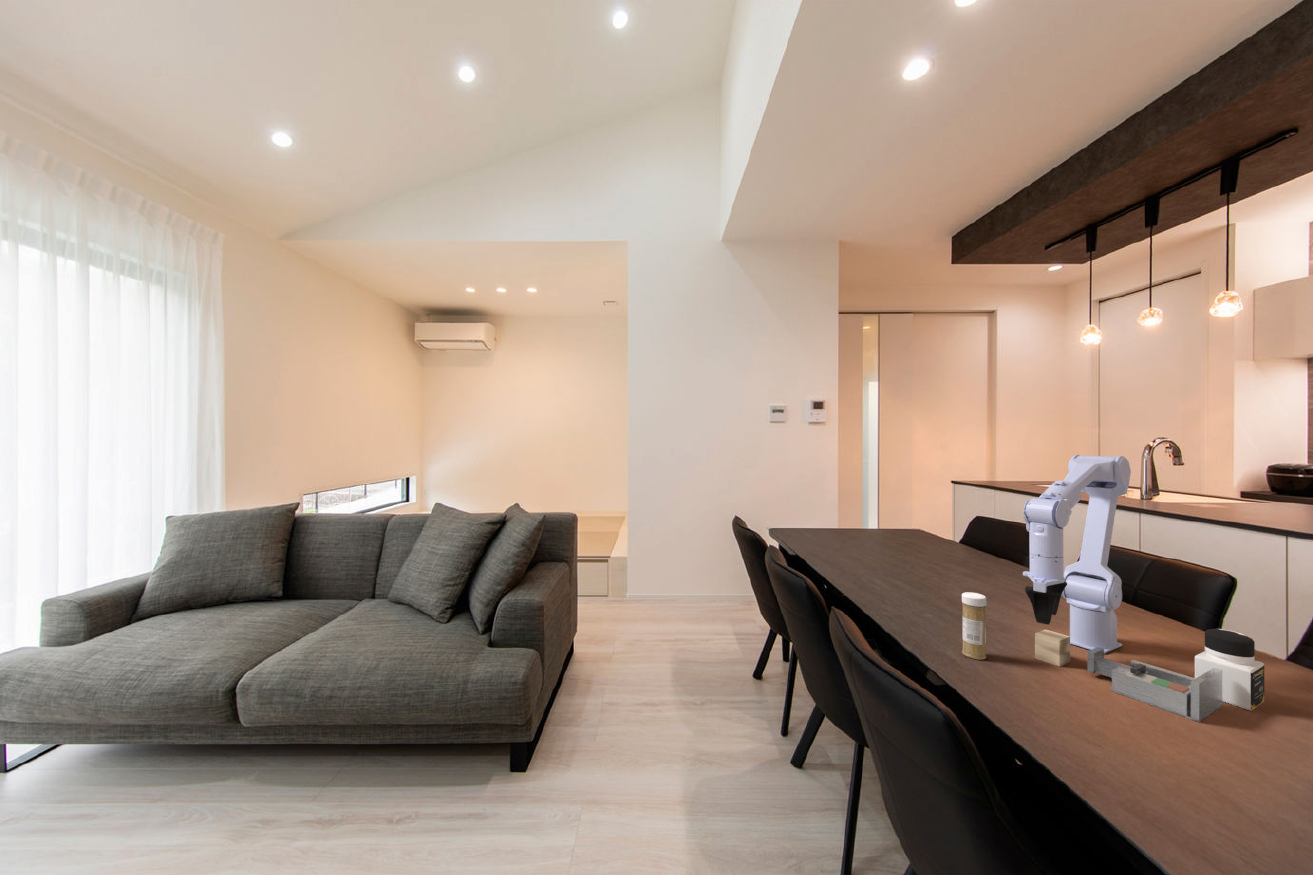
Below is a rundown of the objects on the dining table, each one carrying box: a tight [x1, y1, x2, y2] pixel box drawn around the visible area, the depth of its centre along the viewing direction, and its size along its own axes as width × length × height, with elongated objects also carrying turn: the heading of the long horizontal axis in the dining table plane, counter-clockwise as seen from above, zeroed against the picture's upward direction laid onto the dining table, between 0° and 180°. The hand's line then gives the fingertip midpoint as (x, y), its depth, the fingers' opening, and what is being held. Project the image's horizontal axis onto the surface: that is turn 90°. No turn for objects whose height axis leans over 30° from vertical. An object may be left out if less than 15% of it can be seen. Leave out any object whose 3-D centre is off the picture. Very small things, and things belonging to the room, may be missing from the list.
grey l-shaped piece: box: [1087, 647, 1149, 679], centre depth 96 cm, size 8×8×4 cm
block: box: [1034, 629, 1071, 667], centre depth 106 cm, size 4×4×6 cm
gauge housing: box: [1111, 659, 1223, 723], centre depth 91 cm, size 11×12×6 cm
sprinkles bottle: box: [961, 591, 987, 661], centre depth 108 cm, size 5×5×14 cm
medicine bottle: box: [1194, 628, 1265, 712], centre depth 91 cm, size 7×7×12 cm
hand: (1046, 618), depth 105 cm, fingers open, 7 cm apart
